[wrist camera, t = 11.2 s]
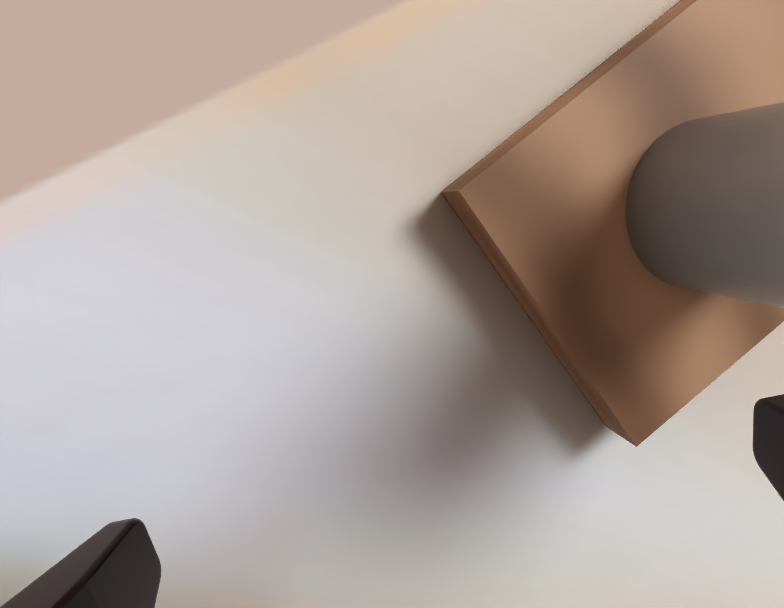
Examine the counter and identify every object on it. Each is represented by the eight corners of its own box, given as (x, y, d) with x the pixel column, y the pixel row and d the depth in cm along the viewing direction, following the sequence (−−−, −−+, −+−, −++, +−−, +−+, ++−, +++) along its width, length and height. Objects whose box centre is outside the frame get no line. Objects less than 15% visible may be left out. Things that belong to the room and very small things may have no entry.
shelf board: (606, 426, 24) (636, 446, 22) (441, 191, 20) (459, 190, 18) (853, 217, 24) (903, 218, 22) (731, -40, 21) (776, -64, 19)
